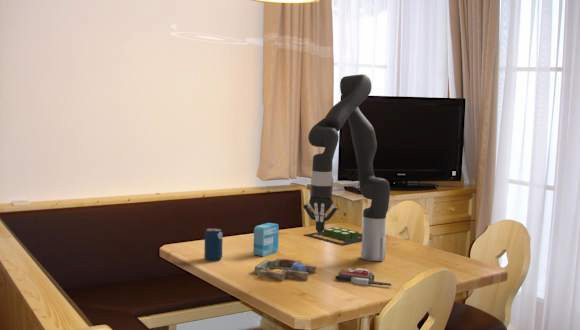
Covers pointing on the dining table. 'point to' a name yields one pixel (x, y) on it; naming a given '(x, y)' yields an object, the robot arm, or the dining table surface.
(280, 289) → the dining table surface
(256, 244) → the light blue box
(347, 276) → the walkie-talkie
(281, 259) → the trap channel
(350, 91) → the robot arm
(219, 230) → the soda can
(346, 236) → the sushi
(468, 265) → the dining table surface
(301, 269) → the decorative dice
